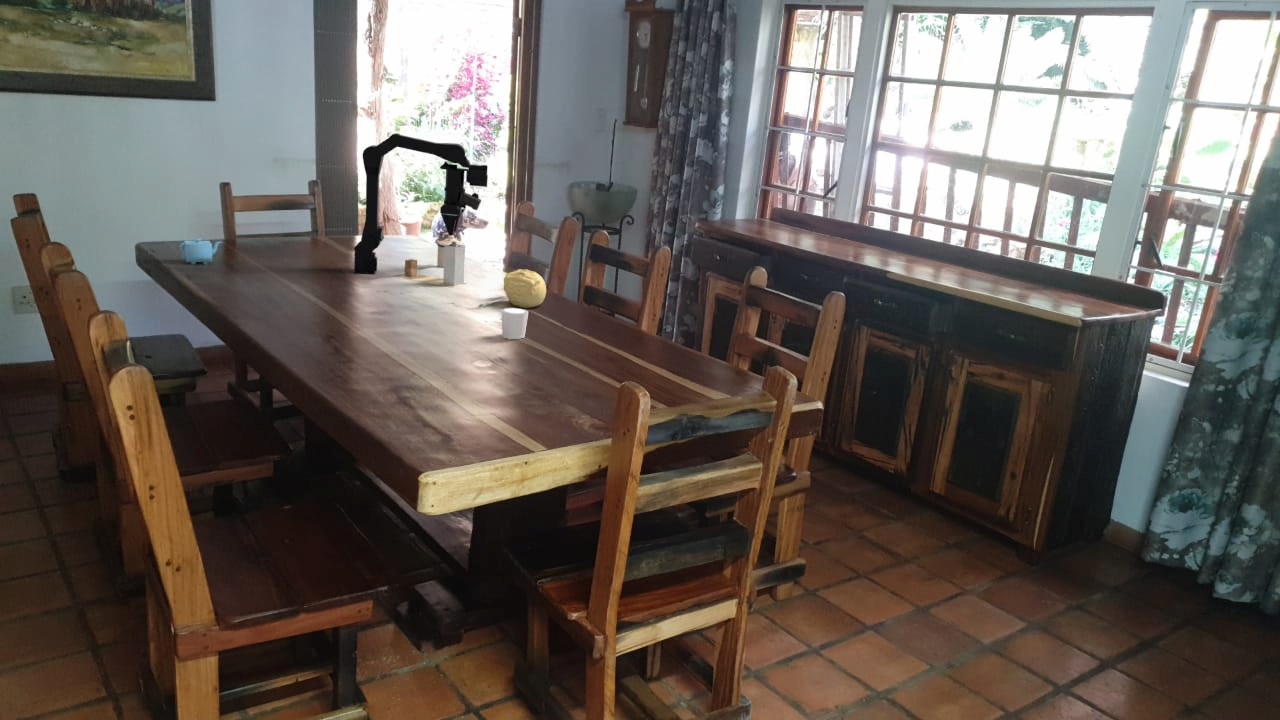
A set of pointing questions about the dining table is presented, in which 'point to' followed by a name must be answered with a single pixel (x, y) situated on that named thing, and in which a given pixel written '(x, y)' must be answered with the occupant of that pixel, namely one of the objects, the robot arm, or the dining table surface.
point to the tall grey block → (454, 264)
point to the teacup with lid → (441, 249)
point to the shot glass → (514, 323)
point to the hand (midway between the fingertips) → (452, 233)
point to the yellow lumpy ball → (524, 288)
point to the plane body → (412, 275)
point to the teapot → (198, 251)
